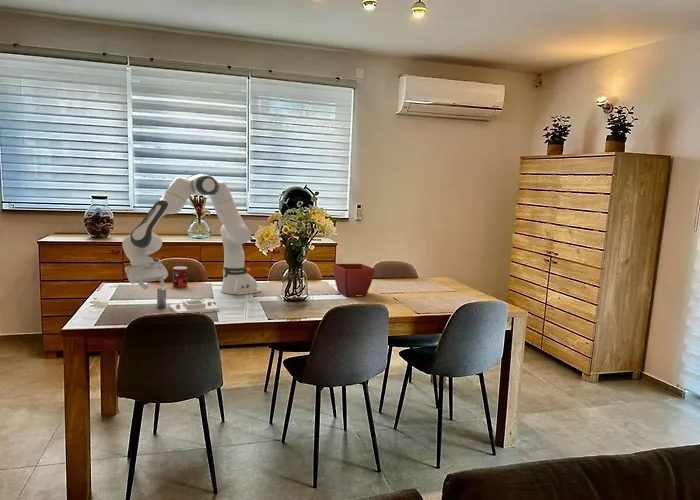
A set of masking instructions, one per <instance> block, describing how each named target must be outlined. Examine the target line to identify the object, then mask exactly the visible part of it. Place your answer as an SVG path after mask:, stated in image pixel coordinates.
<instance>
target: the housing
mask: <svg viewBox="0 0 700 500" xmlns="http://www.w3.org/2000/svg"><path fill="white" fill-rule="evenodd" d="M168 308H169V309H170V310H171V311H172V313H174V314H175V313H179V312H200V313H199V314H201V313H203V314H204V313H213V311H214V312H220V307H219V306H217V305H216V304H215V303H213V302H212V301H210V300H209V301H203V300H202V299H192V300H191V299H190V300H182V303H175V304H174V303H172V304H169V305H168Z"/></svg>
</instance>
